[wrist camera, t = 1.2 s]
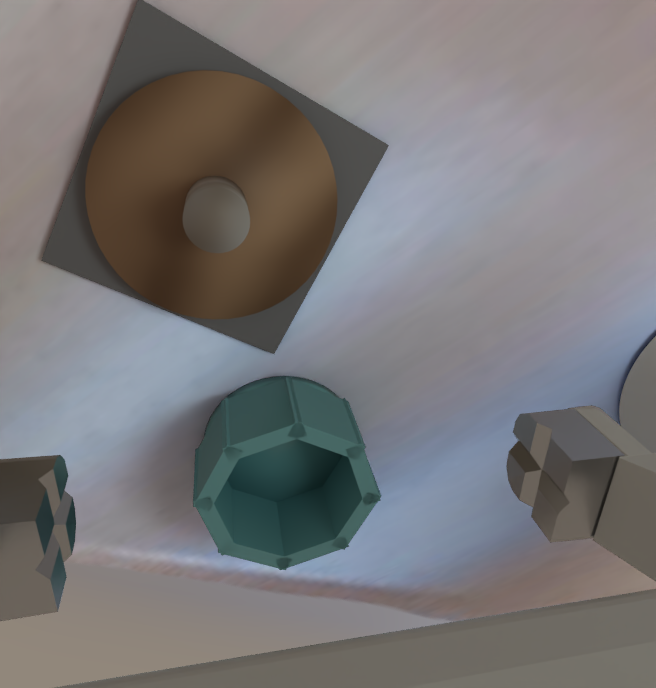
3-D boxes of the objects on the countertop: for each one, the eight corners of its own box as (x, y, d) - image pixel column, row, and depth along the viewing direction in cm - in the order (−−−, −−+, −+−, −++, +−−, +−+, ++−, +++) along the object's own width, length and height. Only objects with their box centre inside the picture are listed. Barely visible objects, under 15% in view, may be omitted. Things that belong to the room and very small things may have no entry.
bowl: (382, 406, 40) (408, 460, 35) (310, 517, 43) (324, 581, 38) (242, 351, 36) (248, 402, 31) (176, 476, 40) (170, 542, 34)
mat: (387, 144, 32) (388, 145, 32) (273, 351, 37) (273, 354, 36) (139, -2, 27) (138, -2, 27) (43, 258, 32) (41, 260, 31)
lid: (376, 149, 32) (396, 161, 28) (270, 344, 36) (276, 375, 32) (145, 15, 27) (134, 9, 24) (53, 255, 31) (33, 281, 28)
